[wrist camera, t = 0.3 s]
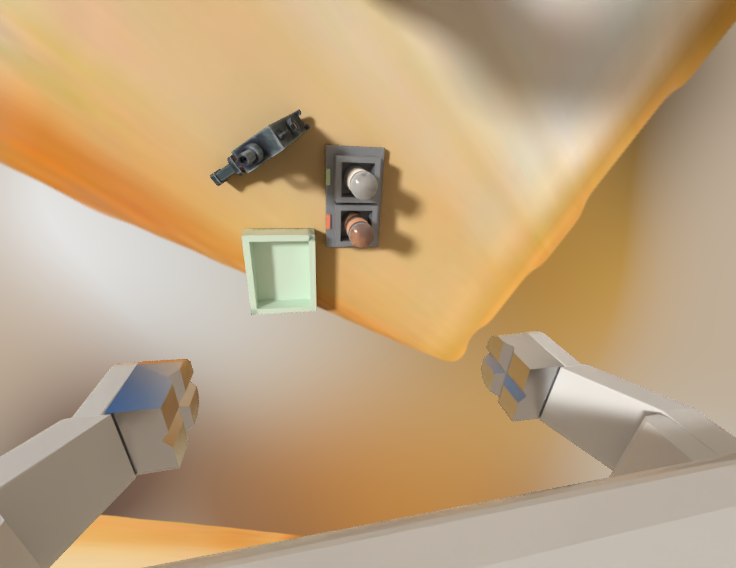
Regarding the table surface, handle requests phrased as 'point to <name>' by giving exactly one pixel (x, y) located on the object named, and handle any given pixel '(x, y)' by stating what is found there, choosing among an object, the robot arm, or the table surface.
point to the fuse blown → (358, 229)
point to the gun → (262, 147)
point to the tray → (280, 270)
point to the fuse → (360, 182)
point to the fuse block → (341, 195)
